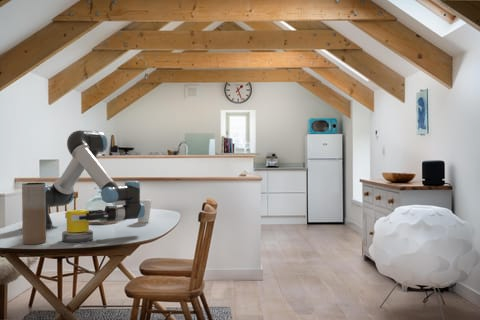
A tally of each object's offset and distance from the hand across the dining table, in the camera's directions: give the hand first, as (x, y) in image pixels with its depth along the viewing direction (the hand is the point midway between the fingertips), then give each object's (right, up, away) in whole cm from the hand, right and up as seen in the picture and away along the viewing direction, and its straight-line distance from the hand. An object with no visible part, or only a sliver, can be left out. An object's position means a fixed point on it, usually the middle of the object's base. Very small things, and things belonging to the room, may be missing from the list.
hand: (68, 216), depth 215 cm
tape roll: (+4, -7, +3) cm, 8 cm away
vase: (-15, -12, -3) cm, 19 cm away
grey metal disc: (+3, -11, +3) cm, 12 cm away
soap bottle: (+4, -10, +73) cm, 74 cm away
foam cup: (+24, -10, +56) cm, 62 cm away
